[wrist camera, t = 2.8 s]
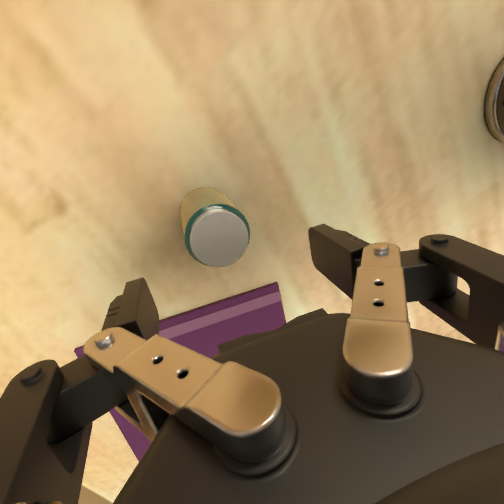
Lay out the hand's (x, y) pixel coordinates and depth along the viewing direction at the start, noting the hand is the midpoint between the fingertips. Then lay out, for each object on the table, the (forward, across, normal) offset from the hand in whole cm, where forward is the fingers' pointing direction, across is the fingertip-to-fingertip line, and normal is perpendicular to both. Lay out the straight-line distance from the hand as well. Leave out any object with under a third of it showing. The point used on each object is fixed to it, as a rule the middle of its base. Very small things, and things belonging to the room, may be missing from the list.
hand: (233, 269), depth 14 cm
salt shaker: (+13, 0, 0) cm, 13 cm away
